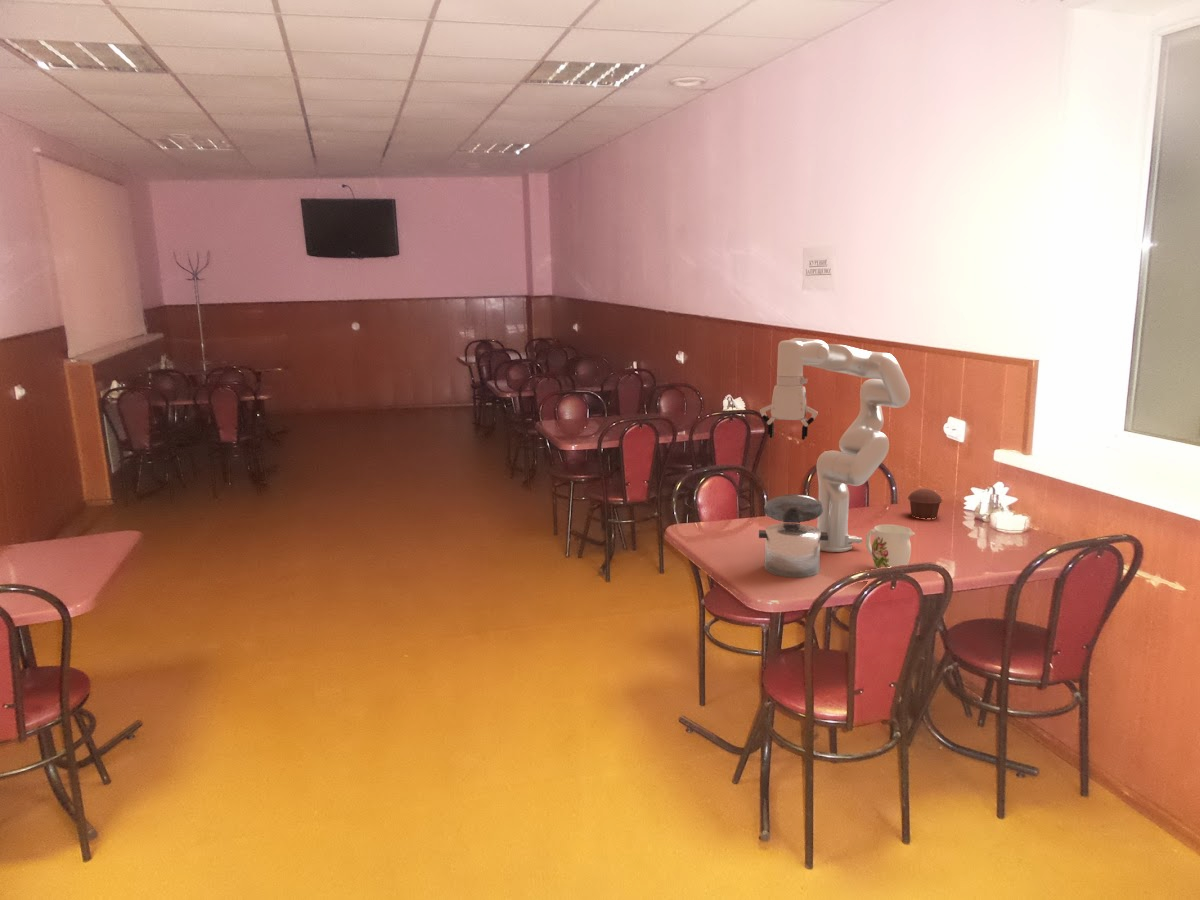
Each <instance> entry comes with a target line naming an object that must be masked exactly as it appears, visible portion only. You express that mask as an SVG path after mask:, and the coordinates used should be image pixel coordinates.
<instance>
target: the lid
mask: <svg viewBox="0 0 1200 900" xmlns="http://www.w3.org/2000/svg"><path fill="white" fill-rule="evenodd" d="M764 513H765V515H767V517H769V518H770V519H773V520H775V521H779V522H782V523H798V524H801V523H804V522H805V523H806V522H809V521H813V520H816V519H818V517H819V516H820V515H821V514H822V513H823V505H822V503H821V502H820V501H819V500H818V499H817V498H816V497H812V496H809V495H805V494H781V495H777V496H775V497H772V498H770V499H768V500H767V501H766V502H765V504H764Z"/></svg>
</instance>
